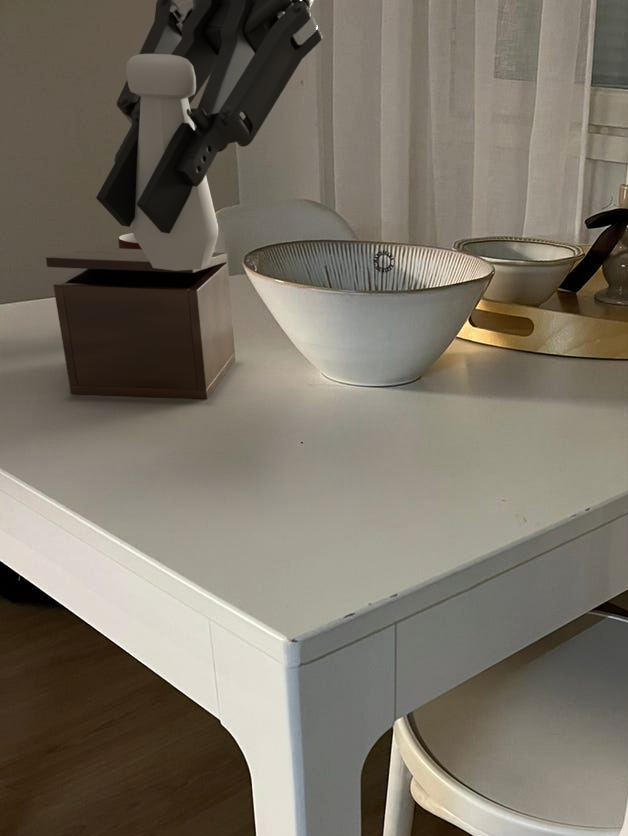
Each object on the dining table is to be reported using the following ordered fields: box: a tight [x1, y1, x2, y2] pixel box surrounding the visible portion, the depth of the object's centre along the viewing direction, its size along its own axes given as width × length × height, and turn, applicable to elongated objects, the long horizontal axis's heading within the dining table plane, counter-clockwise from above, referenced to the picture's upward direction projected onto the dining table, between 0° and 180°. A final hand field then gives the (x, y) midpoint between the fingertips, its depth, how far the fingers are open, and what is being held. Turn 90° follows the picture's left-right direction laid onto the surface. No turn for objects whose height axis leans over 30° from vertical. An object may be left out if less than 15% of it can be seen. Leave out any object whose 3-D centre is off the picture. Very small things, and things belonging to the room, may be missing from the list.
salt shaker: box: [126, 53, 219, 271], centre depth 70 cm, size 6×6×13 cm
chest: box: [53, 261, 236, 400], centre depth 99 cm, size 14×13×10 cm
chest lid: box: [45, 247, 229, 273], centre depth 95 cm, size 14×13×1 cm
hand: (133, 215), depth 68 cm, fingers closed on salt shaker, 3 cm apart
